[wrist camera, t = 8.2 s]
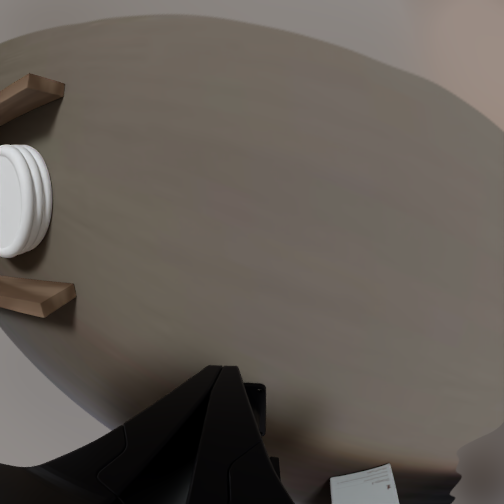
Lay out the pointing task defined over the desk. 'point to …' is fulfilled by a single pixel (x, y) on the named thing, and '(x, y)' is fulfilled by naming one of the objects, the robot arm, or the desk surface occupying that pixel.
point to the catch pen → (18, 289)
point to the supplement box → (365, 487)
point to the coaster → (23, 199)
